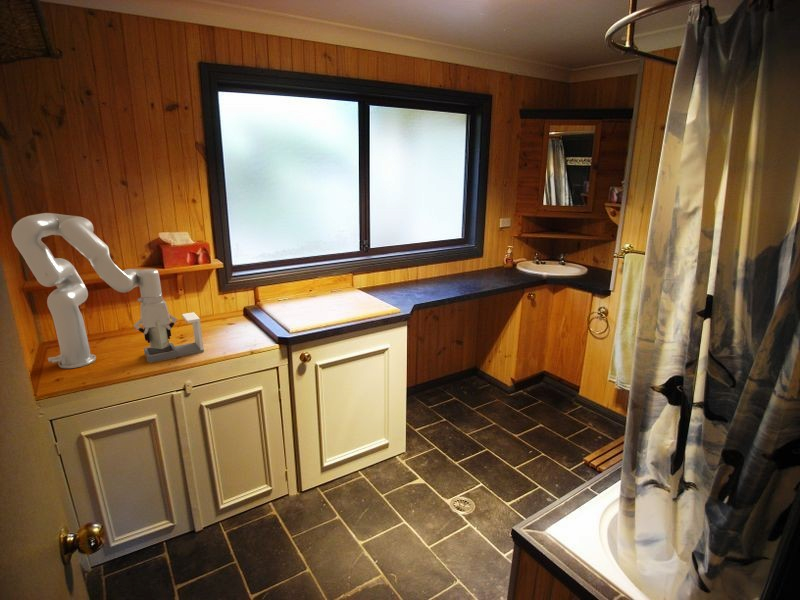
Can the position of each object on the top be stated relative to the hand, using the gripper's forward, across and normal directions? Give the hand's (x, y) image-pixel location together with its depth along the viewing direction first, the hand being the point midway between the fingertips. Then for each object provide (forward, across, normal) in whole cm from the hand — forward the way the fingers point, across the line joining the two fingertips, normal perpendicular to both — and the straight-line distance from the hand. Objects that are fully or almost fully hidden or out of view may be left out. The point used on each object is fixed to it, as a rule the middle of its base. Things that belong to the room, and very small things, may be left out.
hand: (158, 339), depth 191 cm
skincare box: (+3, 0, 0) cm, 3 cm away
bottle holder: (+7, +5, 0) cm, 9 cm away
